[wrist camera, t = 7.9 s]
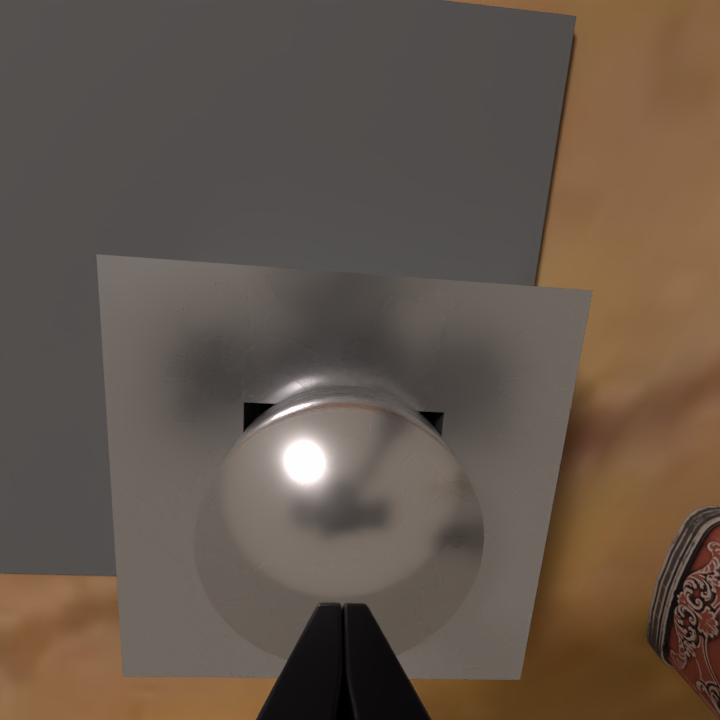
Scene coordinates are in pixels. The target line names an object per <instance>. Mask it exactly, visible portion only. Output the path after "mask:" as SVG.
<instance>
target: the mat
mask: <svg viewBox="0 0 720 720" xmlns="http://www.w3.org/2000/svg"><path fill="white" fill-rule="evenodd" d="M575 21H576V16H571V15H562V14H554V13H545V12H537V11H528V10H520V9H511V8H503V7H495V6H486V5H478V4H469V3H461V2H452V1H444V0H0V573H16V574H58V575H101V576H117V575H116V559H115V543H114V527H113V511H112V495H111V479H110V463H109V447H108V431H107V415H106V399H105V383H104V368H103V352H102V336H101V320H100V304H99V288H98V272H97V256H96V254H100V255H113V256H127V257H141V258H154V259H168V260H182V261H196V262H209V263H223V264H237V265H250V266H264V267H278V268H291V269H305V270H319V271H333V272H346V273H360V274H374V275H387V276H401V277H415V278H428V279H442V280H456V281H470V282H483V283H497V284H511V285H524V286H534V283H535V277H536V270H537V264H538V258H539V251H540V245H541V238H542V232H543V226H544V219H545V213H546V206H547V200H548V194H549V187H550V181H551V174H552V168H553V162H554V155H555V149H556V143H557V136H558V130H559V123H560V117H561V111H562V104H563V98H564V91H565V85H566V79H567V72H568V66H569V59H570V53H571V47H572V40H573V34H574V27H575Z"/></svg>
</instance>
